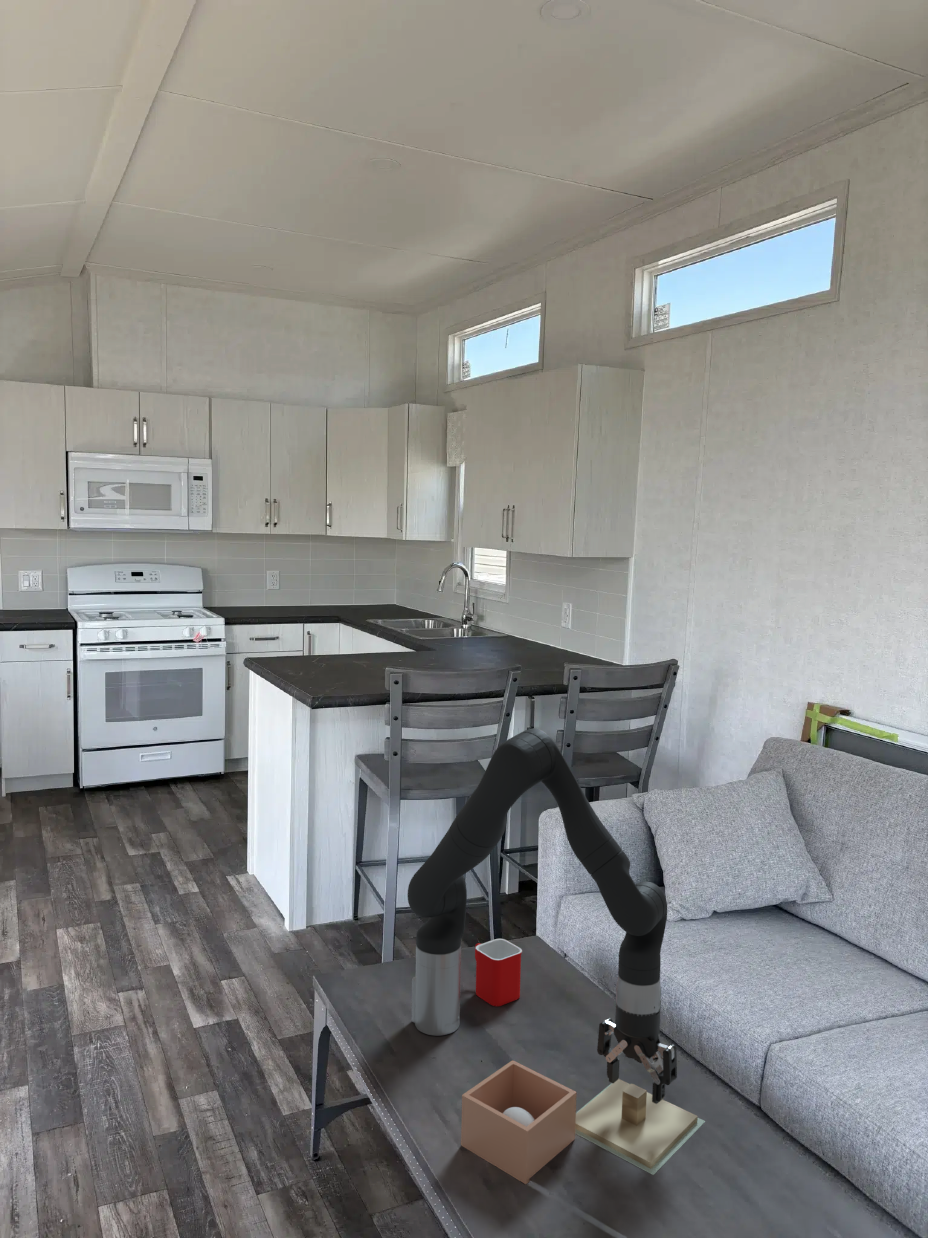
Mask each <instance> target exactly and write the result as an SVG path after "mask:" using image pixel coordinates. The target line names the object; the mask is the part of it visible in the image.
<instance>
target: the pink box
mask: <svg viewBox="0 0 928 1238" xmlns="http://www.w3.org/2000/svg"><path fill="white" fill-rule="evenodd" d="M577 1095H578V1094H577V1091H575V1090H574V1089H571V1088H569V1087H568V1086H565V1085H563V1084H562V1083H559V1082H557V1081H555V1080H554V1079H552V1078H550V1077H547V1076H545V1075H543V1074H541V1073H540V1072H537V1071H535V1070H533V1069H531V1068H529V1067H528V1066H525V1065H523V1064H521V1063H519V1062H517V1061H515V1060H511V1061H509V1062H508V1063H506V1064H505V1065H503V1066H502V1067H501V1068H499V1069H497V1070H496V1071H495V1072H493V1073H492V1074H490V1075H489V1076H488V1077H486V1078H485V1079H483V1080H481V1081H480V1082H479V1083H477V1084H476V1085H475V1086H473V1087H471V1088H470V1089H468V1090H467V1091H466V1092H464V1093H463V1094H462V1095H461V1125H460V1126H461V1127H460V1128H461V1131H460V1132H461V1133H460V1135H461V1136H460V1146H461V1147H463V1148H465V1149H466V1150H468V1151H470V1152H471V1153H473V1154H474V1155H476V1156H478V1157H479V1158H480V1159H483V1160H485V1161H486V1162H488V1163H489V1164H491V1165H493V1166H495V1167H496V1168H498V1169H499V1170H501V1171H502V1172H505V1173H506V1174H508V1175H509V1176H511V1177H513V1178H514V1179H516V1180H518V1181H519V1182H520V1183H521V1182H522V1183H523V1184H524V1185H528V1183H530V1182H531V1181H532V1179H531V1178H532V1177H533V1176H534V1175H535V1174H537V1172H539V1171H540V1170H541V1169H542V1168H543V1167H545V1165H547V1164H548V1163H549V1162H551V1161H552V1160H553V1159H554V1158H556V1156H557V1155H558V1154H560V1152H562V1151H563V1150H564V1149H566V1147H568V1146H569V1145H570V1144H571V1143H572V1142H573V1141H574V1140H576V1134H575V1125H576V1112H577ZM511 1107H519V1108H522V1109H524V1110H526V1111H527V1112H529V1113H530V1114H531V1115H532V1116H533V1118H534V1119H535V1120H534V1121H533V1122H532V1123H531V1124H529V1125H528V1126H527V1127H526V1126H524V1125H523V1124H521V1123H519V1122H517V1121H515V1120H514V1119H512V1118H510V1117H508V1116H506V1115H504V1114H503V1112H504V1111H505V1110H507V1109H508V1108H511Z"/></svg>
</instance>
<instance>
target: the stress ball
mask: <svg viewBox="0 0 928 1238" xmlns="http://www.w3.org/2000/svg"><path fill="white" fill-rule="evenodd" d="M503 1114H504V1115H506V1116H508V1117H510V1118H512V1119H514V1120H515V1121H517V1122H519V1123H521V1124H523V1125H524V1126H526V1127H527V1126H528V1125H529V1124H531V1123H532V1122H533V1121H534V1120H535V1119H534V1118H533V1116H532V1115H531V1114H530V1113H529V1112H527V1111H526V1110H524V1109H522V1108H519V1107H511V1108H508V1109H507V1110H505V1111H504V1112H503Z"/></svg>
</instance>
